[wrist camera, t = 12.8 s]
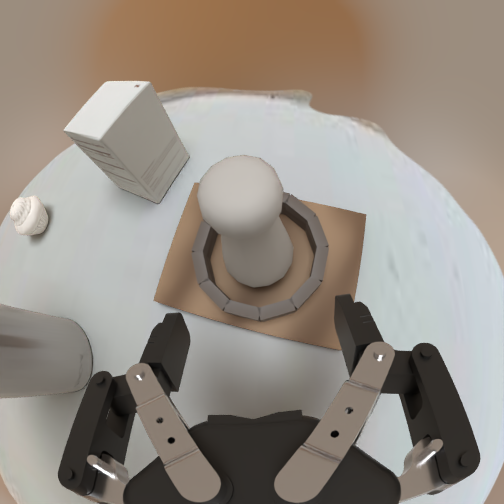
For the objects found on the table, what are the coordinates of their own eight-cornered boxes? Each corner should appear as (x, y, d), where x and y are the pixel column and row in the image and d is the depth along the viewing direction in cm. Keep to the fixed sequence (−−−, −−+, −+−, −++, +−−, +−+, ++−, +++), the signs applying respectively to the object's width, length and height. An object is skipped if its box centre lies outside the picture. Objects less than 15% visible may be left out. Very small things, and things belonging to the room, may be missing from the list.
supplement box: (149, 145, 33) (106, 78, 21) (191, 157, 31) (152, 79, 19) (118, 189, 31) (60, 130, 19) (158, 206, 29) (98, 139, 18)
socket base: (159, 302, 26) (140, 296, 22) (198, 189, 29) (187, 169, 26) (340, 349, 23) (349, 352, 19) (362, 220, 26) (373, 202, 22)
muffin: (32, 250, 31) (1, 234, 24) (30, 220, 33) (2, 203, 26) (56, 228, 31) (24, 208, 24) (53, 198, 33) (25, 177, 26)
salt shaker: (270, 304, 23) (253, 267, 11) (216, 270, 25) (154, 206, 12) (304, 249, 24) (319, 163, 12) (251, 219, 26) (223, 123, 14)
